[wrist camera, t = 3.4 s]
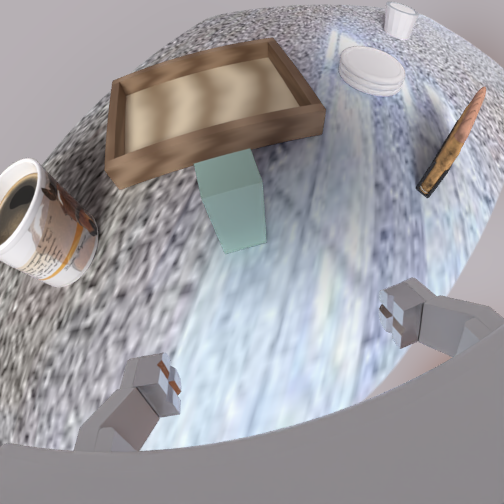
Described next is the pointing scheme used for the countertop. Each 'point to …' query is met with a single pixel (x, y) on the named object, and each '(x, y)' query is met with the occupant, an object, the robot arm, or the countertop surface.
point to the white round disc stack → (371, 71)
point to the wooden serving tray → (206, 110)
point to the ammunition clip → (451, 146)
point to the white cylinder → (399, 20)
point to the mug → (43, 226)
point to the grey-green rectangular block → (233, 199)
